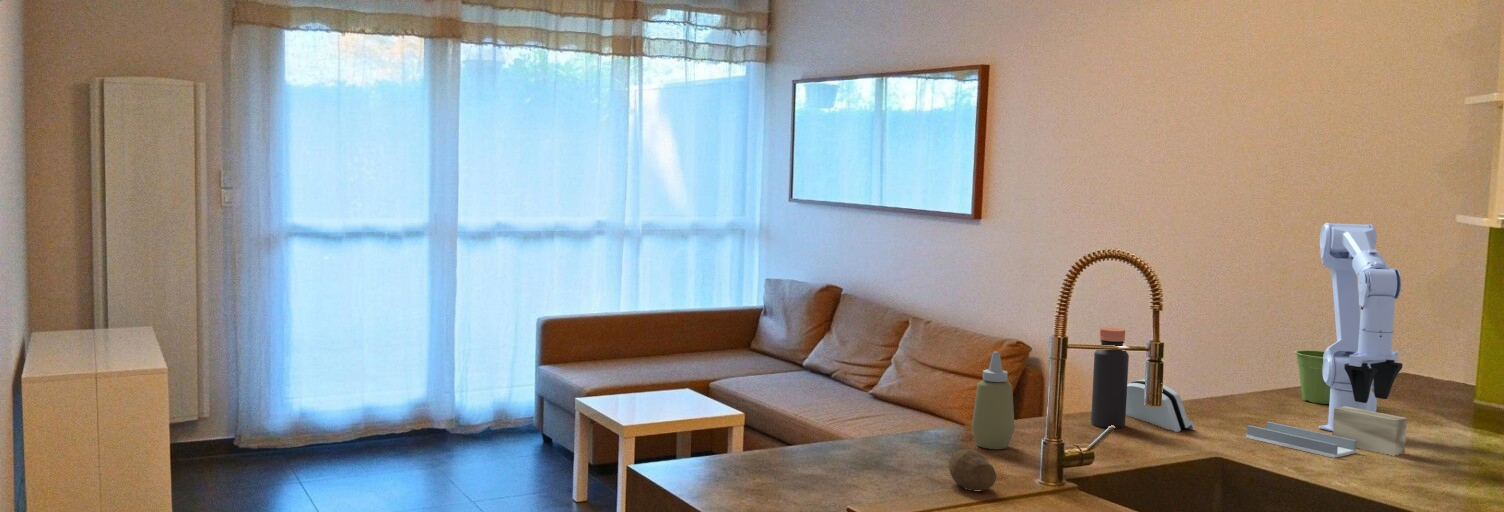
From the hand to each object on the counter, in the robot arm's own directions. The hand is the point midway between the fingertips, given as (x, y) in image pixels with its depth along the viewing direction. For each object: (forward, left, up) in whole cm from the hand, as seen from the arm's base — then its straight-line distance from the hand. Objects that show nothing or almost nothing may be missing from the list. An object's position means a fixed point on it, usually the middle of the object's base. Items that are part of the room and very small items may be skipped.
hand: (1371, 400), depth 224 cm
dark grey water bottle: (+30, -38, -10) cm, 49 cm away
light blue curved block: (+19, -35, -10) cm, 41 cm away
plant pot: (-36, -30, -10) cm, 48 cm away
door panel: (0, 0, -10) cm, 10 cm away
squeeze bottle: (+65, -37, -10) cm, 75 cm away
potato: (+89, -19, -10) cm, 92 cm away
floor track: (+10, -8, -9) cm, 16 cm away
